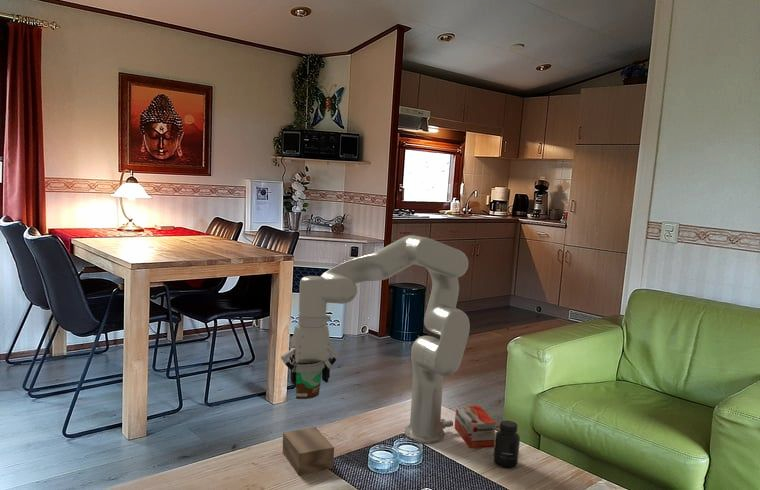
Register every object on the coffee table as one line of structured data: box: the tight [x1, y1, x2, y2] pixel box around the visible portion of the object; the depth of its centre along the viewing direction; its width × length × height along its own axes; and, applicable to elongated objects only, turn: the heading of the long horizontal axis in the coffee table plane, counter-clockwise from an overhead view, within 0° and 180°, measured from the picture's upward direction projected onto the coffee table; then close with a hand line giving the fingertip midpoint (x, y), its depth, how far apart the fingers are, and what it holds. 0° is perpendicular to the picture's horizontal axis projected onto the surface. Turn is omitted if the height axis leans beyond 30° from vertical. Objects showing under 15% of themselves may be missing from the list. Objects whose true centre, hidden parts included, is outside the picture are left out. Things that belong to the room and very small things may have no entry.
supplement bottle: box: [493, 420, 521, 470], centre depth 164 cm, size 7×7×12 cm
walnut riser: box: [282, 426, 335, 476], centre depth 160 cm, size 10×14×6 cm
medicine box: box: [454, 405, 497, 449], centre depth 180 cm, size 15×8×8 cm, turn 11°
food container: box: [295, 361, 325, 400], centre depth 158 cm, size 12×6×10 cm, turn 170°
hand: (310, 382), depth 158 cm, fingers closed on food container, 8 cm apart
